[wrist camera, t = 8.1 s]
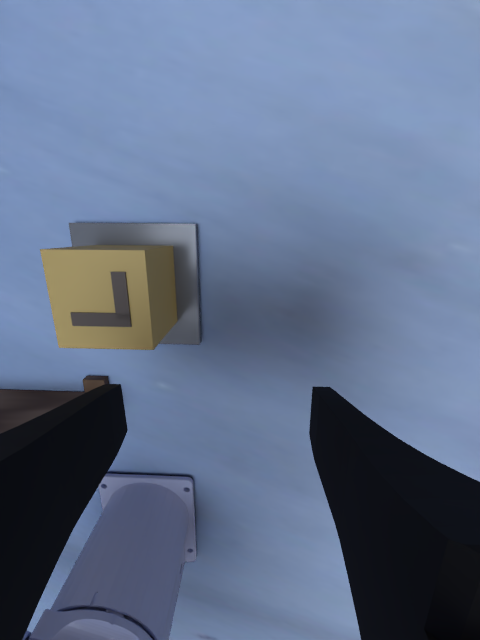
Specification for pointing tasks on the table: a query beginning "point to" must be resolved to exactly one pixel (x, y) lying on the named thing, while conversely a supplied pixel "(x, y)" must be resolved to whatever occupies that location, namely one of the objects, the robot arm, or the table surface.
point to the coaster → (184, 264)
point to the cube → (111, 295)
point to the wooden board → (37, 402)
